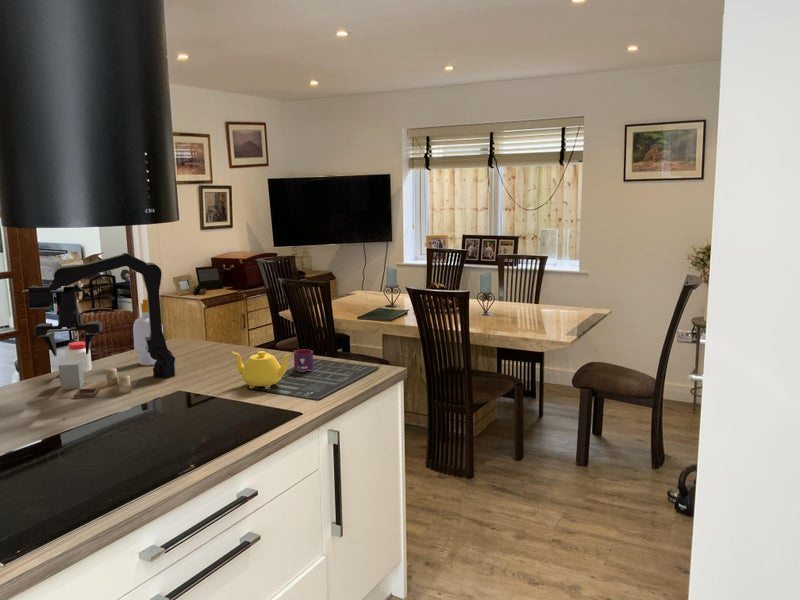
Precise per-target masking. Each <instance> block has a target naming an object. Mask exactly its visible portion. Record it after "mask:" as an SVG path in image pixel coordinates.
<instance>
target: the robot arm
mask: <svg viewBox="0 0 800 600" xmlns="http://www.w3.org/2000/svg"><path fill="white" fill-rule="evenodd" d="M124 267H128V268H129V269H131V270H133V271H135V272H137V273H138V274H140V275H141V276H142V277H141V278H142V281H143V284H144V286H145V291H146V299H147V301H148V313H149V324H150V335H149V337H145V340H146V350H147V353H149V354H150V356H151V358H153V359H154V360H157V361H156V362H155V365H153V367H152V373H153V375H152V376H153V378H159V379H167V378H171V377H176V375H177V372H176V368H177V367H176V357H175V355H174V354H173V352H172V351H170V350H169V348H168V346H167V343H166V339H165V336H164V331H163V332H162V326H163V323H162V313H161V312H162V311H161V300H160V298H161V297H160V288H161V284H162V282H161V281H162V269H161V268H160V267H159V266H158V264H156V263H155V262H145V261H144V260H142V259H139V258H137V257H135V256H133V255H132V254H131V253H129V252H123V253H121V254H118V255H115V256H110V257H105V258H102V259H99V260H96V261H90V262H87V263H83V264H68V265H60V266H59V267H57V268H55V269H56V270H55V271H54V274H53V279H52V281H51V282H49V285H47V286H44V285H43V286H28V297H27V298H28V299H27V301H28V309H29V310H34V309H35V310H37V309H49V308H51V306H52V305H55V304H56V315H57V325H53V323H52V322H50V323H49V322H48V323H39V324H38V325H36V326H35V327H34V328H33V335H34V336H35V337H38V338H39V339H42V340H43V341H44V342H45V344H46V345H47V346H48V347H49V349H50V351H51V353H52V354H53V356H54V357H56V356H57V355H58V354H57V353H58V352H57V345H56V341H55V333H56V332H57V333H59V332H77V331H78V332H79V331H80V332H82V331H85V332H86V333H85V335H84V337H85V338H84V342H85V350H86V354H88V353H89V349H90V348H91V345H92V342H93V339H94V337H95V336H96V335H98V334H100V333H101V332H102V331H103V330H104V325H103V322H102V321H101V320H95V321H88V322H86V323H85V324H83V321H84V319H83V313H81V312H80V311H79V307H78V296H77V293H79V292H81V293H82V292H83V287H81V286H79V284H78V283H77V282H79V281H81V280H83V279H85V278H87V277H90V276H95V275H97V274H100V273H101V274H102V273H105V272H109V271H112V270H116V269H120V268H124ZM72 284H73V286H72ZM61 287H63V289H60V288H61ZM54 294H55V296H54ZM54 297H55V299H54ZM55 300H56V301H55ZM55 302H56V303H55ZM90 350H91V349H90Z"/></svg>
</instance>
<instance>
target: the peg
mask: <svg viewBox="0 0 800 600" xmlns="http://www.w3.org/2000/svg"><path fill="white" fill-rule="evenodd" d="M105 377H106V378H105V379H106V382H107V386H115V385H117V384H118V381H119V379H118V369H117V368H115V367H112V368H111V367H110V368H106V369H105Z"/></svg>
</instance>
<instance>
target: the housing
mask: <svg viewBox="0 0 800 600" xmlns="http://www.w3.org/2000/svg"><path fill="white" fill-rule="evenodd" d="M58 371H59V372H58V374H59V385H60V387H61V389H76V388H81V387H82V385H83V384H84V383H85V377H84V376H85V375H84V374H85V372H83V360H70V361H66V360H62V362H60V363H59V364H58Z"/></svg>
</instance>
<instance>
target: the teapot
mask: <svg viewBox="0 0 800 600" xmlns="http://www.w3.org/2000/svg"><path fill="white" fill-rule="evenodd" d="M231 353H232V354H233V355H234V356H235V358H236V369H237V372H238V373H239V374H240V375H241V378H242V379H241V380H243V381H244V383H245V384H247V385H248V387H249V388H253V387H255V386H256V387H264V388H265V387H270V386H272V385H276V384H278V383H279V382H280V380H281V379H282V377H283V376H284V375H285V373H286V372H287V369H288V358H289V356H290V355H292V352H290V353H286V354H285V355H283V357H282V364H281V365H280V363H279V362H278V360H277V358H276V357H275V356H274V355H273V354H270V353H269V352H266V351H264V350H261V351H257V354H253V355H251V356H249V357H248V359H247V361H246V362H245V364H244V363H243V362H242V357H241V355H240V353H238V352H236V351H231ZM256 387H255V388H256Z"/></svg>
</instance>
